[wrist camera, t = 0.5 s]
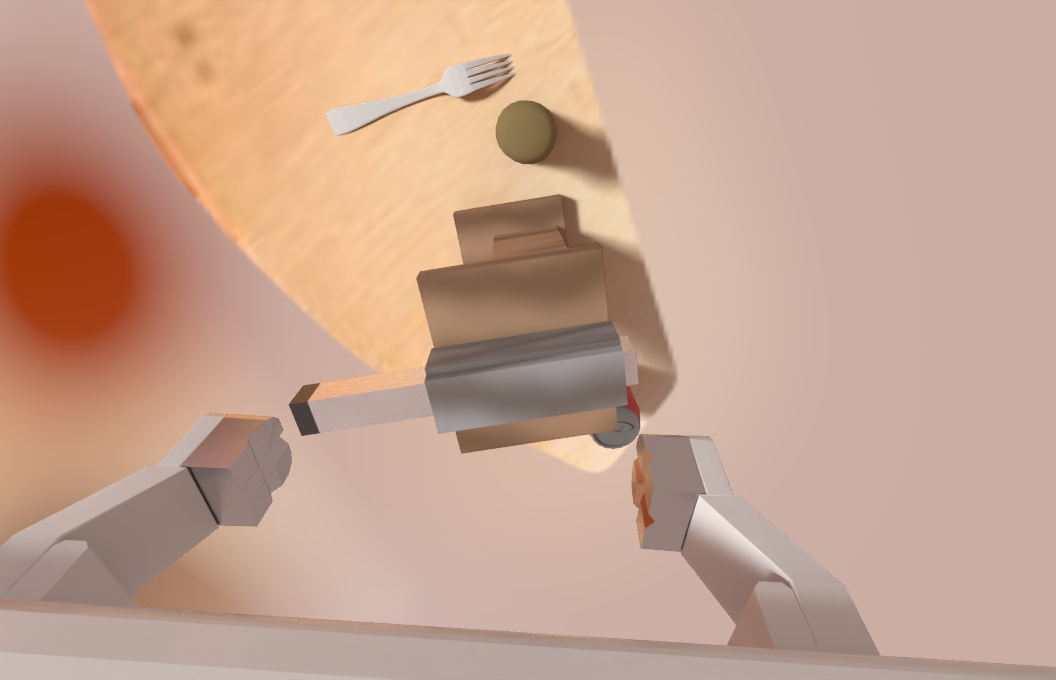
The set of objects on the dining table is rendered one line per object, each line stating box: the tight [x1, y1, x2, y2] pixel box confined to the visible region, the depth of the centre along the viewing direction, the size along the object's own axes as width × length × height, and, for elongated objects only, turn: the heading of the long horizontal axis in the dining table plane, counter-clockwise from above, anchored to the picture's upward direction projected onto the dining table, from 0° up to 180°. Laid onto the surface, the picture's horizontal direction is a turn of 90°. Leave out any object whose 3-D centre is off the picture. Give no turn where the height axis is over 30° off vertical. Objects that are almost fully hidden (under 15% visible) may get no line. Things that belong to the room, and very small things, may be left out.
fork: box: [326, 54, 516, 136], centre depth 50 cm, size 3×21×3 cm, turn 106°
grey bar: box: [289, 335, 639, 436], centre depth 32 cm, size 2×22×2 cm, turn 99°
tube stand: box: [417, 194, 628, 453], centre depth 43 cm, size 14×12×31 cm
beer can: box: [589, 386, 640, 449], centre depth 59 cm, size 7×7×12 cm
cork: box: [496, 101, 557, 164], centre depth 47 cm, size 6×6×11 cm
